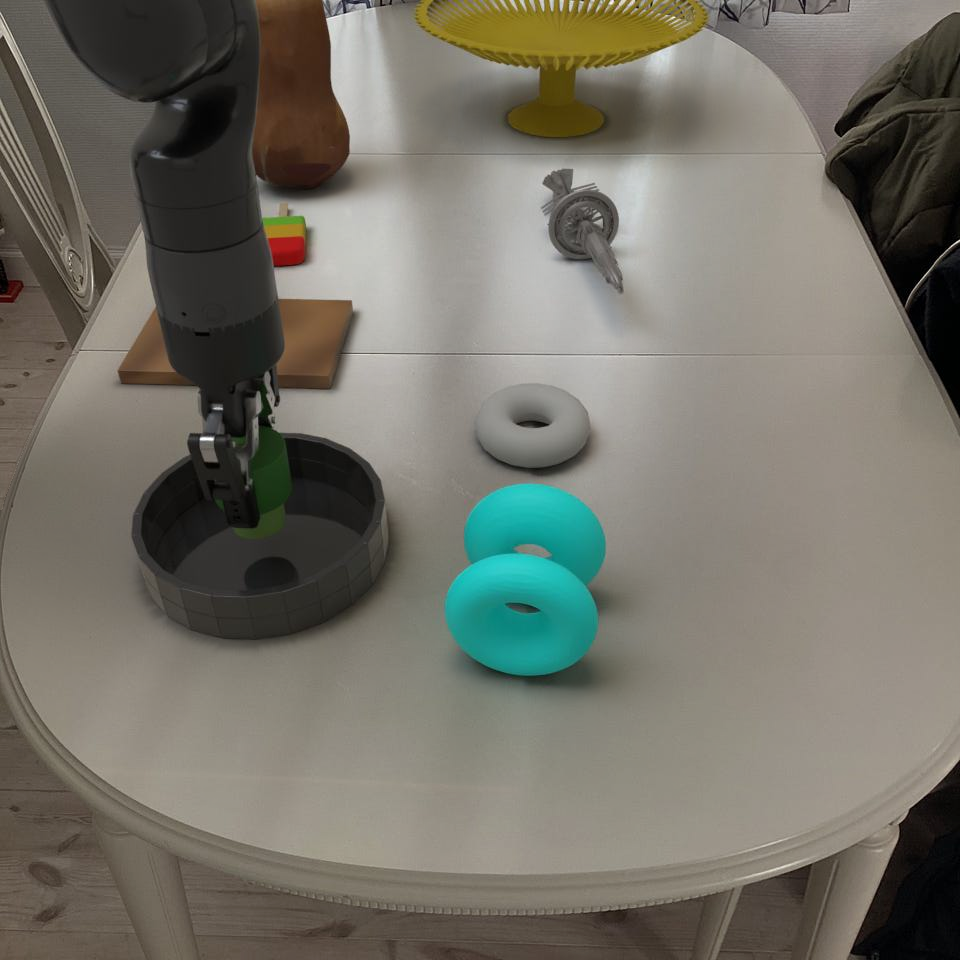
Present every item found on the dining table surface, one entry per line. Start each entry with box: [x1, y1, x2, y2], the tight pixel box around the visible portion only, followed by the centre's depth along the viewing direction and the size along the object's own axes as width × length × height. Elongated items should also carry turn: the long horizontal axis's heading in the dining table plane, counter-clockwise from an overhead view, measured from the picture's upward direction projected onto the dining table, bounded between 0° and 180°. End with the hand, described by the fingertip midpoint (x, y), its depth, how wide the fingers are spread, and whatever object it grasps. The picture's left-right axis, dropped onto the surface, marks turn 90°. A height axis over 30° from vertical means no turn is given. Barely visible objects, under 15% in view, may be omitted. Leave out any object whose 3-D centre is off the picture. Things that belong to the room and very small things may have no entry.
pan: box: [130, 432, 390, 640], centre depth 77 cm, size 18×18×4 cm
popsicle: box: [262, 201, 307, 267], centre depth 119 cm, size 6×15×2 cm, turn 7°
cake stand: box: [412, 0, 711, 138], centre depth 143 cm, size 40×40×15 cm
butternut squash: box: [252, 0, 351, 191], centre depth 123 cm, size 14×13×25 cm
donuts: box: [444, 483, 607, 677], centre depth 69 cm, size 10×10×10 cm
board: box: [117, 298, 354, 390], centre depth 100 cm, size 20×14×2 cm
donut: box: [474, 382, 592, 469], centre depth 88 cm, size 10×3×10 cm
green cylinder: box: [215, 425, 292, 539], centre depth 74 cm, size 6×6×7 cm
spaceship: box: [540, 168, 624, 295], centre depth 112 cm, size 8×35×8 cm
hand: (254, 495), depth 75 cm, fingers closed on green cylinder, 5 cm apart
